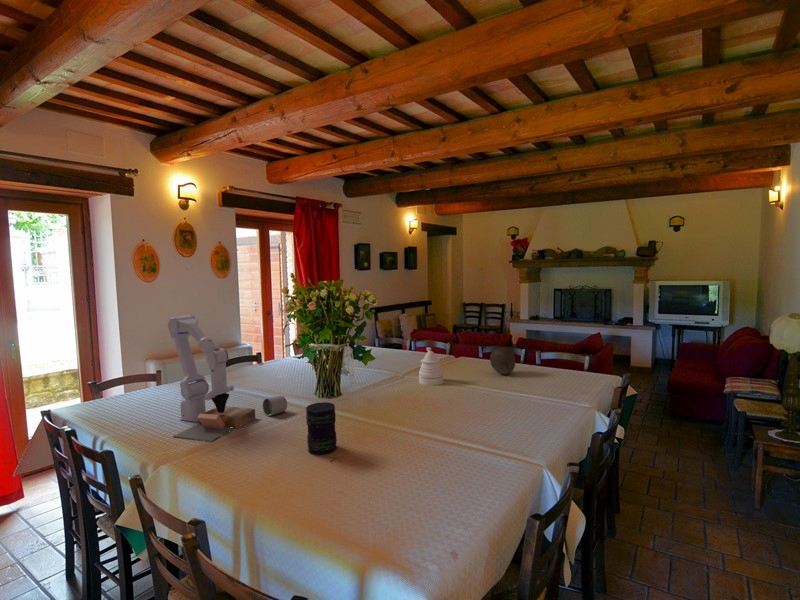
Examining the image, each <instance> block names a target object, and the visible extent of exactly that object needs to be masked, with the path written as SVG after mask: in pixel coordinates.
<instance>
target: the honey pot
mask: <svg viewBox="0 0 800 600" xmlns="http://www.w3.org/2000/svg"><path fill="white" fill-rule="evenodd" d="M425 348H426V351H427V352H426V353H425V355H424V358H422V359H420V362H421V365H420V369H419V372H418V382H419V384H420V385H422V386H423V385H425V386H438V385H441V384H444V371H443V368H442V366H441V363H440V359H439V358H438V357H437V355H436V354H435V353H434V351H432V347H425Z"/></svg>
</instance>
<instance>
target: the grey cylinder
mask: <svg viewBox="0 0 800 600" xmlns="http://www.w3.org/2000/svg"><path fill="white" fill-rule="evenodd" d="M287 408H288V402H287V399H286V397H285V396H284V395H276V396H272V397H266V398H264V399H263V401H262V409H263V413H264V414H265V416H267V415H268V416H267V417H271V416H274V415H275V416H276V415H278V414H281V413H284V412H285V411H286V410H287ZM269 414H271V415H269Z"/></svg>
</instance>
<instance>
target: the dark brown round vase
mask: <svg viewBox="0 0 800 600" xmlns="http://www.w3.org/2000/svg"><path fill="white" fill-rule="evenodd" d="M489 361H490V362H489V363H490V365H491V368H493V370H494V371H495V372H497V373H498V374H500V375H505V376H506V375H509V374H511V373H512V372H514V369H515V368H516V367H515V366H516V357H515V354H514V352H512V350H511V349H510V348H507V347H497V348H495V349H493V351H492V352H491V353H490V357H489Z"/></svg>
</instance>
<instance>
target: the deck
mask: <svg viewBox="0 0 800 600" xmlns="http://www.w3.org/2000/svg"><path fill="white" fill-rule="evenodd" d="M202 414H212V415H219V416H220V418H221V419H222V421H223V422H224V423H225V426H224V427H233V428H235V429H238V428H240V427H241V426H240V425H242V424H244V423H246V422H247V423H249V422H251V421H253V420H255V419H256V409H255V408H248V407H237V406H236V407H235V406H227V405H225V410H224V412H223V413H218V411H217V408H216V407H213V408H211V409H209V410H206V412H205V413H202ZM254 418H255V419H254ZM252 419H253V420H252ZM250 420H251V421H250ZM248 421H249V422H248ZM198 422H199V423H198V424H201V422H200V421H198ZM247 423H246V424H247ZM244 425H245V424H244ZM239 426H240V427H239ZM242 426H243V425H242ZM237 427H238V428H237Z"/></svg>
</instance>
